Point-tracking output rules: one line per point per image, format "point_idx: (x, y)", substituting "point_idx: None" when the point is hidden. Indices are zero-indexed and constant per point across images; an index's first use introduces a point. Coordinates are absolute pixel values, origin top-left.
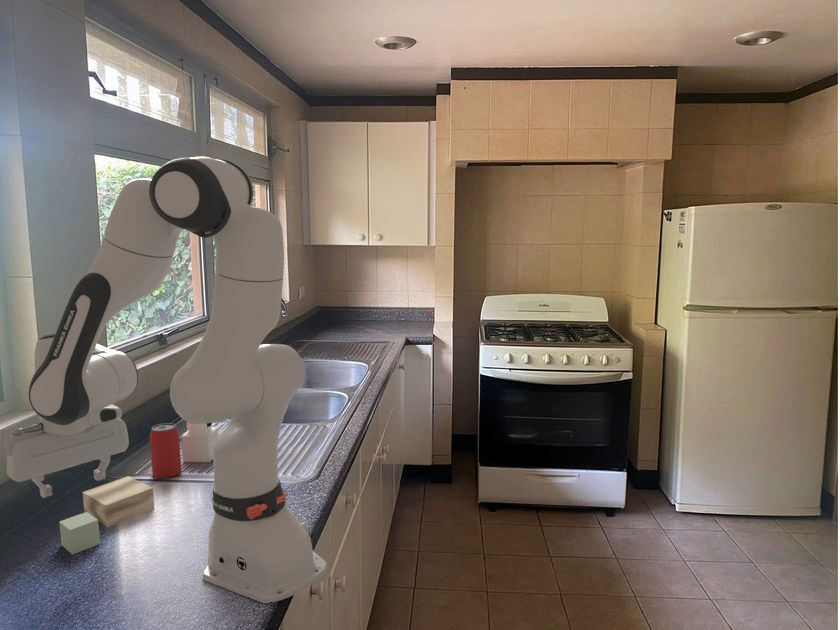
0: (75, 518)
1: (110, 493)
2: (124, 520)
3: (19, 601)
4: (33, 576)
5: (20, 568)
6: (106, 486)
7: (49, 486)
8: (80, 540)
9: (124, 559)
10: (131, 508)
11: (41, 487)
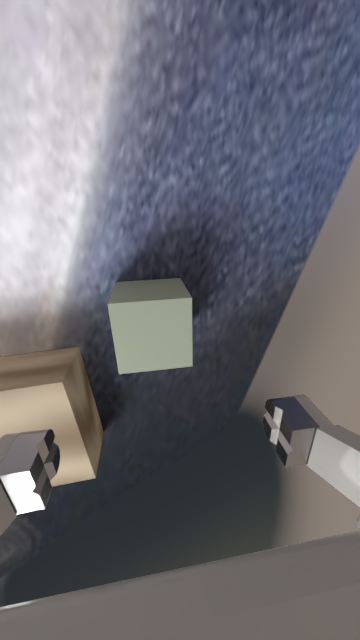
0: (155, 356)
1: None
2: (35, 352)
3: (334, 153)
4: (269, 245)
5: (269, 298)
6: None
7: (296, 440)
8: (162, 286)
9: (87, 136)
10: (1, 369)
11: (354, 434)
